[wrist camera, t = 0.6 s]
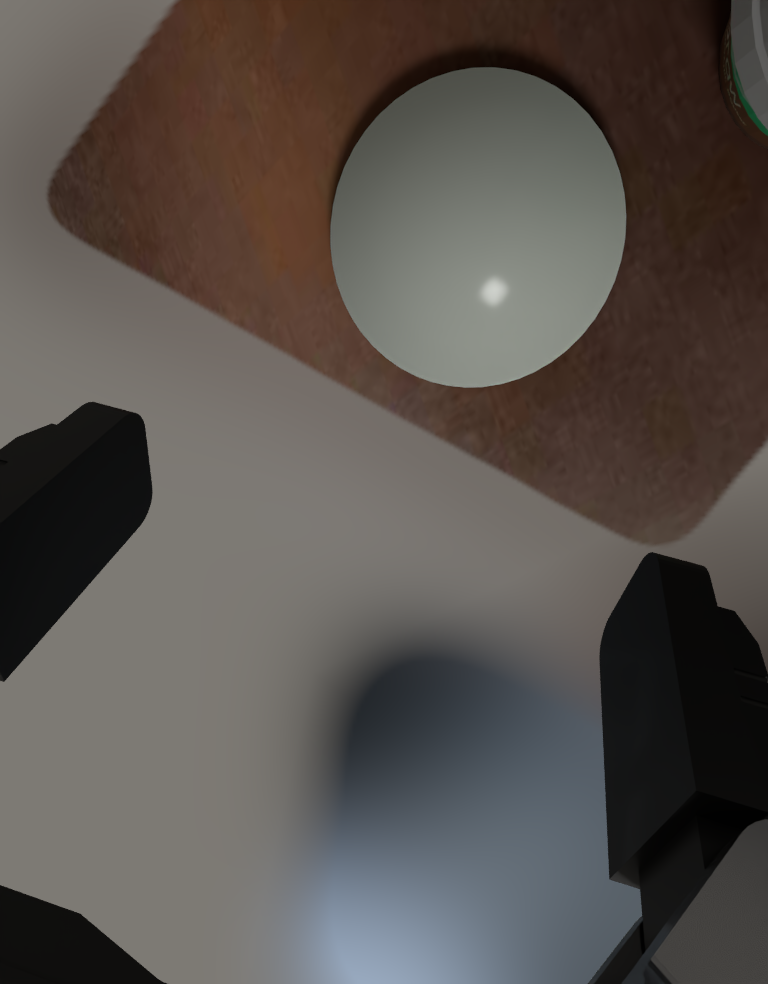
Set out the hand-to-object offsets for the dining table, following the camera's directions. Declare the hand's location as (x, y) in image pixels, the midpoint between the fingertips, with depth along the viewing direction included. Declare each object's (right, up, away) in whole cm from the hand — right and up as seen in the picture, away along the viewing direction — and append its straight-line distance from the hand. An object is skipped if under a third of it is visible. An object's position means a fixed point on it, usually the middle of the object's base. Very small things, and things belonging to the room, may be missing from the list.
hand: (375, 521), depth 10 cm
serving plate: (+5, +14, +23) cm, 27 cm away
